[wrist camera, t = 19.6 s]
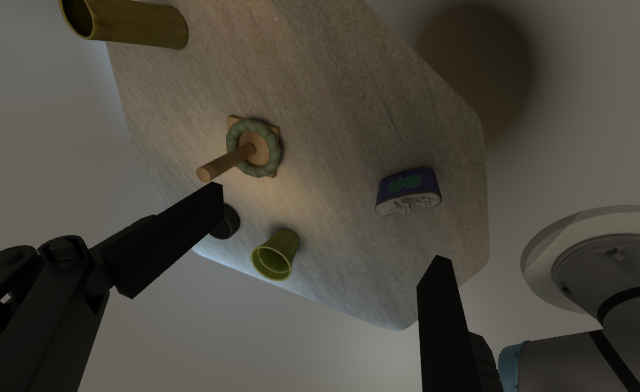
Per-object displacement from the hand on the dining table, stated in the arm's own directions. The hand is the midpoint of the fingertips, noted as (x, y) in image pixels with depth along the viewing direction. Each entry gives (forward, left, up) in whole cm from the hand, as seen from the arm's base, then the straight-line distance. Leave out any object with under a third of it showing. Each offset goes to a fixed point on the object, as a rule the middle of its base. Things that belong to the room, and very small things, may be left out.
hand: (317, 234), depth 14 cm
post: (+21, +9, -29) cm, 37 cm away
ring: (+20, +9, -26) cm, 34 cm away
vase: (+37, -8, -29) cm, 48 cm away
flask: (-8, +7, -29) cm, 31 cm away
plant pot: (+12, +30, -29) cm, 43 cm away
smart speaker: (+29, +30, -29) cm, 51 cm away
